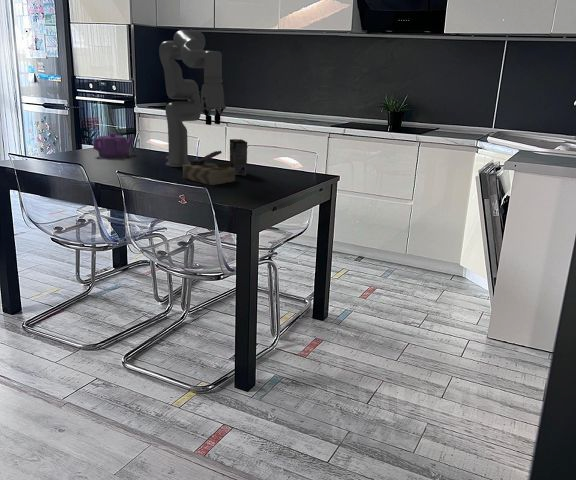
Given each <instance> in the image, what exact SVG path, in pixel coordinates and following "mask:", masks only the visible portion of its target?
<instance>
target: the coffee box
mask: <svg viewBox="0 0 576 480" xmlns="http://www.w3.org/2000/svg"><path fill="white" fill-rule="evenodd" d="M229 167H232V168H235V175H242V176H247V172H248V141H247V140H244V139H238V138H237V139H236V138H233V139H231V138H230V139H229Z"/></svg>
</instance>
